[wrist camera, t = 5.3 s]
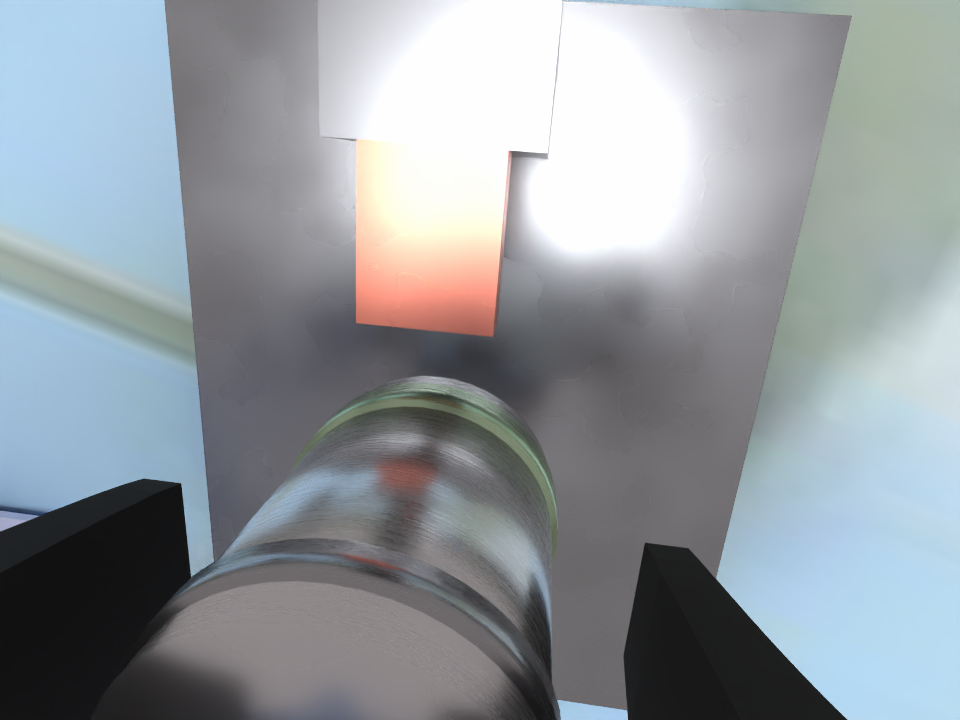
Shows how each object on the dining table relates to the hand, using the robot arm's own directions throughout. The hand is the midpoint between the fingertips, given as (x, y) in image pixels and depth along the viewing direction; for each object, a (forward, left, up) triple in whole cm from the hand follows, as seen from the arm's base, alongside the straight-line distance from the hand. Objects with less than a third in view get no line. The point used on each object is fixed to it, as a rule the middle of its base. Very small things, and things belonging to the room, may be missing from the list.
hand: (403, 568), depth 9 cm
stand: (0, 0, -8) cm, 8 cm away
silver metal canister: (0, 0, -2) cm, 2 cm away
